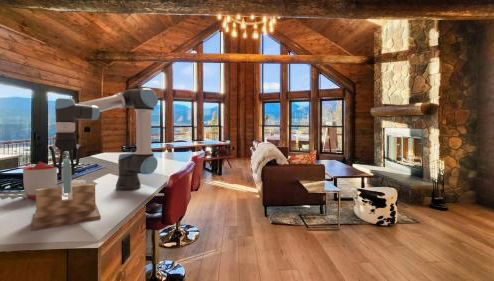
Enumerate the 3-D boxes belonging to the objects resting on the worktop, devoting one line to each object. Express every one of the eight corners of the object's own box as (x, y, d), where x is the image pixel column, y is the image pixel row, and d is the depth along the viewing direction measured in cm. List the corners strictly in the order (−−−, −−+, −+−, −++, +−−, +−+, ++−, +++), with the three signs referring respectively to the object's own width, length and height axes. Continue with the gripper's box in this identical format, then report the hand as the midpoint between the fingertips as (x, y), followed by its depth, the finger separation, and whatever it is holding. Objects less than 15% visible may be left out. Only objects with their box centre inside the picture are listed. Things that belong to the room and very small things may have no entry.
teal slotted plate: (69, 183, 127) (69, 159, 127) (70, 192, 111) (70, 164, 110) (63, 184, 126) (63, 159, 125) (63, 193, 110) (63, 165, 109)
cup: (83, 200, 143) (83, 182, 142) (57, 202, 139) (57, 183, 138) (87, 196, 151) (87, 179, 150) (63, 198, 147) (62, 180, 146)
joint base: (95, 204, 136) (94, 179, 135) (100, 218, 117) (100, 189, 116) (36, 212, 122) (35, 184, 121) (31, 230, 103) (30, 196, 102)
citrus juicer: (52, 190, 161) (51, 158, 160) (61, 196, 150) (61, 161, 149) (19, 195, 149) (18, 161, 148) (27, 202, 138) (25, 164, 137)
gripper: (44, 131, 115) (45, 184, 116) (85, 132, 124) (86, 180, 125) (45, 131, 121) (46, 181, 122) (84, 131, 130) (85, 178, 131)
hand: (66, 181), depth 124 cm, fingers closed on teal slotted plate, 2 cm apart
